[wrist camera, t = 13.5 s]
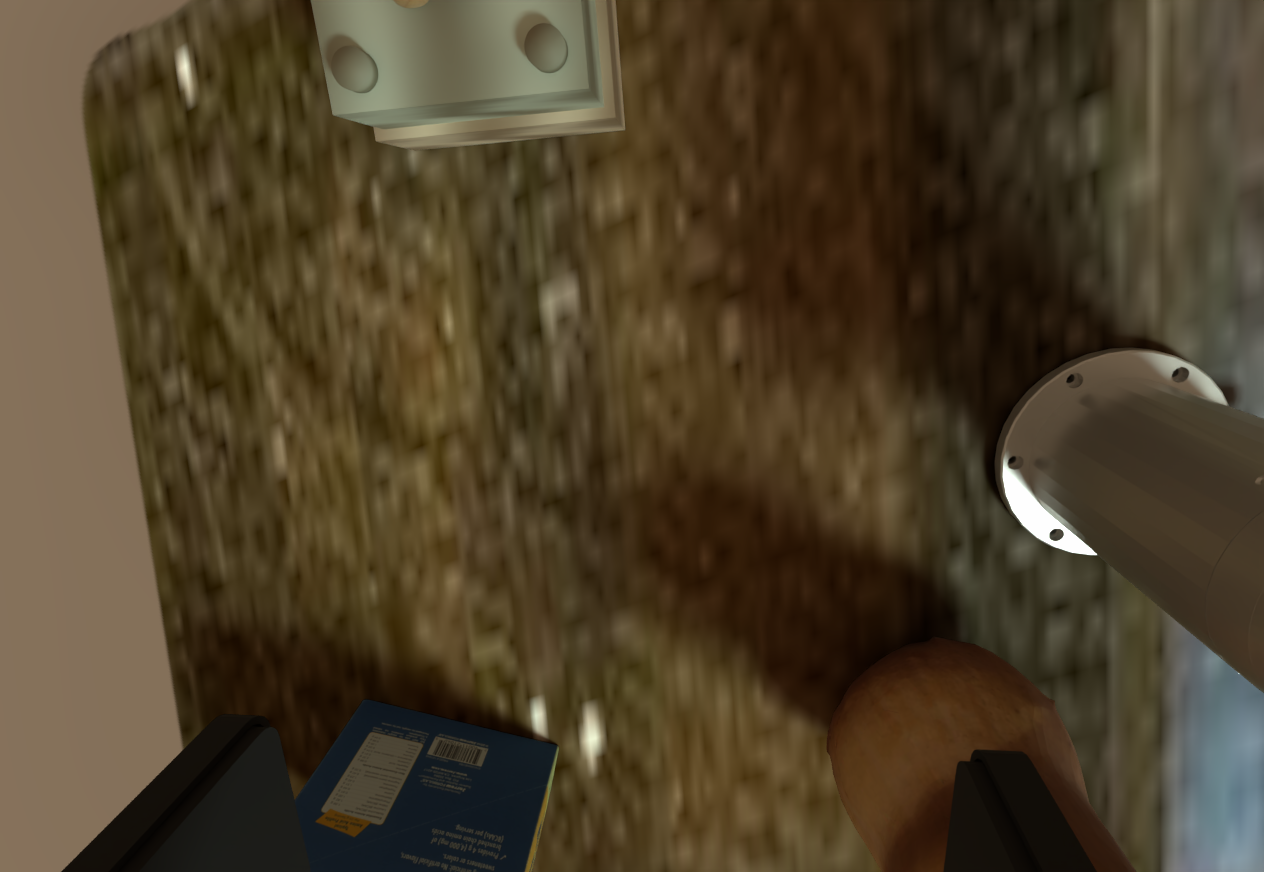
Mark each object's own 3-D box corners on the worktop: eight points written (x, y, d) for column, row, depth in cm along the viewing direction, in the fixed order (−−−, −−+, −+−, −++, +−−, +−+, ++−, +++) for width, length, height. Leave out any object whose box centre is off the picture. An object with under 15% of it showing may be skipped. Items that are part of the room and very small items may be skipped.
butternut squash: (784, 644, 46) (880, 1093, 23) (982, 575, 44) (1327, 1004, 20) (858, 795, 50) (1008, 1324, 26) (1045, 740, 47) (1406, 1276, 23)
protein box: (539, 846, 54) (481, 1082, 39) (350, 800, 54) (222, 1019, 39) (562, 742, 51) (508, 958, 36) (361, 694, 51) (226, 890, 36)
